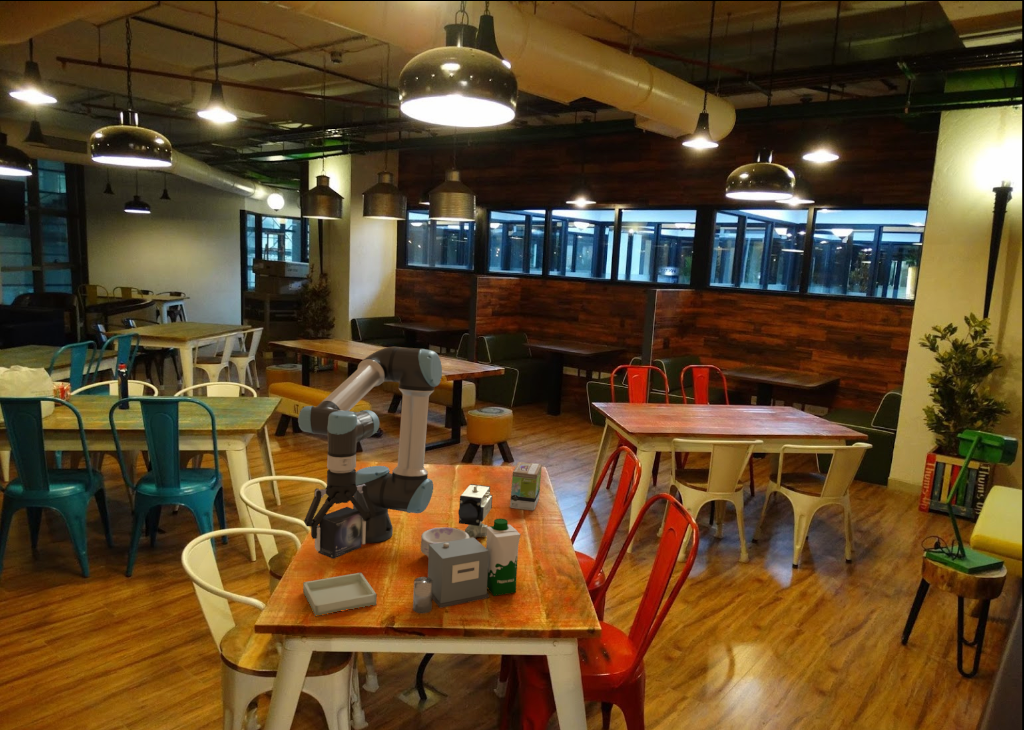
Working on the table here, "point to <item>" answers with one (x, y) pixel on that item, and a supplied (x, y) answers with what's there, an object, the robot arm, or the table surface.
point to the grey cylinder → (422, 595)
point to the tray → (339, 593)
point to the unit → (458, 571)
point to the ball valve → (475, 509)
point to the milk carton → (502, 557)
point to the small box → (340, 532)
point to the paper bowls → (440, 537)
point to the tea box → (525, 486)
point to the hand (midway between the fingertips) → (340, 545)
